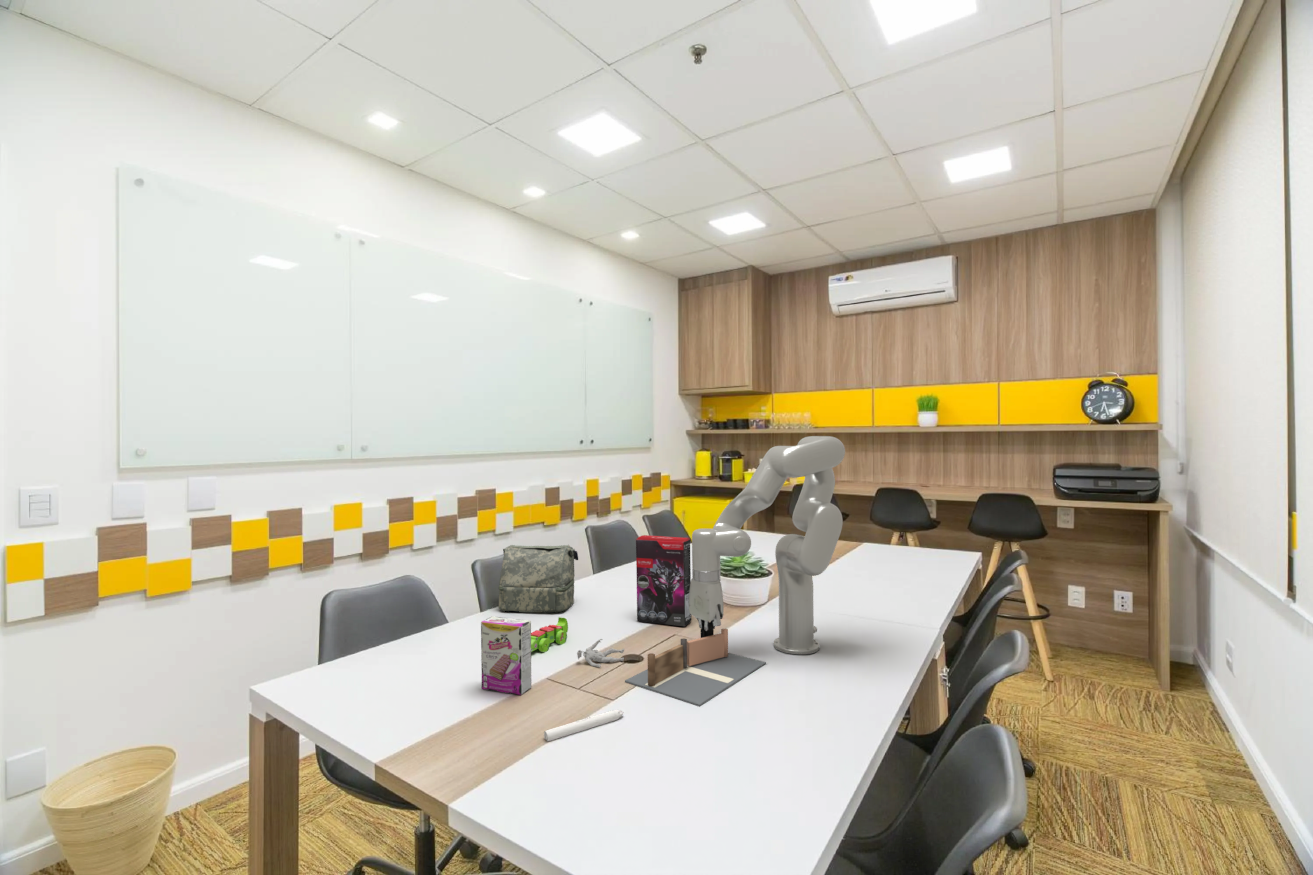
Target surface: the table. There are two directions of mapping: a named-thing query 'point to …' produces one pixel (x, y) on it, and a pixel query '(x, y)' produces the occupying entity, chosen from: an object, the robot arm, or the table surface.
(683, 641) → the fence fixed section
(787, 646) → the robot arm
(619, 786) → the table surface
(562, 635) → the toy crocodile
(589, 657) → the soldier figure
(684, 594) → the graphics card box
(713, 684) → the mat
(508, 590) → the lunch bag
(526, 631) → the candy bar box
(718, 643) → the fence swing section
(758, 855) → the table surface
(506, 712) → the table surface
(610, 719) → the marker
